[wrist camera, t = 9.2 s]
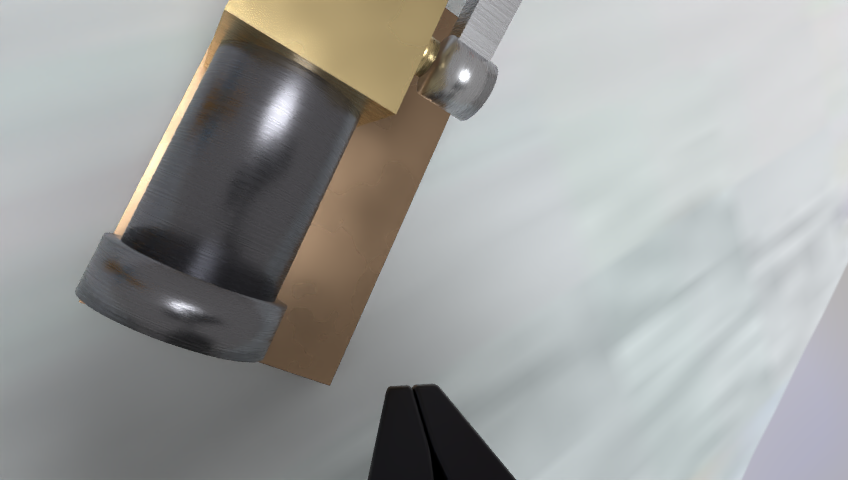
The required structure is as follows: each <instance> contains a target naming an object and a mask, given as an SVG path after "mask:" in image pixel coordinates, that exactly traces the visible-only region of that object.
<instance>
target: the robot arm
mask: <svg viewBox="0 0 848 480" xmlns="http://www.w3.org/2000/svg"><path fill="white" fill-rule="evenodd" d="M368 480H516V479H515V478H514V477H513V475H512V474H511V473H510V472H509V470H508V469H507V468H506V467H505V466H504V464H503V463H502V462H501V461H500V460H499V458H498V457H497V456H496V455H495V454H494V452H493V451H492V450H491V449H490V448H489V446H488V445H487V444H486V443H485V442H484V440H483V439H482V438H481V437H480V436H479V434H478V433H477V432H476V431H475V430H474V428H473V427H472V426H471V425H470V423H469V422H468V421H467V420H466V419H465V417H464V416H463V415H462V414H461V413H460V411H459V410H458V409H457V408H456V407H455V405H454V404H453V403H452V402H451V401H450V399H449V398H448V397H447V396H446V395H445V393H444V392H443V391H442V390H441V389H440V387H439V386H437V385H435V384H421V385H414V386H413V387H412V388H411V387H410V386H408V385H405V386H390V387H388V389H387V391H386V395H385V400H384V405H383V409H382V414H381V419H380V424H379V428H378V433H377V438H376V442H375V447H374V452H373V457H372V461H371V466H370V471H369V476H368Z"/></svg>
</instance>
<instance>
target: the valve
mask: <svg viewBox="0 0 848 480" xmlns="http://www.w3.org/2000/svg"><path fill="white" fill-rule="evenodd" d="M447 2H448V0H229V1H228V3H227V5H226V7H225V9H224V12H223V15H222V17H221V20H220V22H219V25H218V28H217V30H216V33H215V36H214V38H213V40H212V42H211V44H210V46H209V48H208V50H207V52H206V54H205V56H204V58H203V60H202V61H201V63H200V65H199V67H198V69H197V71H196V73H195V75H194V77H193V79H192V81H191V83H190V85H189V87H188V89H187V91H186V93H185V95H184V97H183V99H182V101H181V103H180V105H179V107H178V109H177V110H176V112H175V114H174V116H173V118H172V120H171V122H170V124H169V126H168V128H167V130H166V132H165V134H164V136H163V138H162V140H161V142H160V144H159V146H158V148H157V150H156V152H155V154H154V156H153V157H152V159H151V161H150V163H149V165H148V167H147V169H146V171H145V173H144V175H143V177H142V179H141V181H140V183H139V185H138V187H137V189H136V191H135V193H134V195H133V197H132V199H131V201H130V203H129V205H128V206H127V208H126V210H125V212H124V214H123V216H122V218H121V220H120V222H119V224H118V226H117V228H116V230H115V232H114V234H113V233H104V235H103V237H102V239H101V241H100V243H99V245H98V247H97V249H96V251H95V253H94V255H93V257H92V259H91V261H90V263H89V265H88V267H87V269H86V270H85V272H84V274H83V276H82V278H81V280H80V282H79V284H78V286H77V288H76V290H75V293H76V295H77V296H78V298H79V299H80V301H79V302H80V303H83V304H86V305H88V306H89V307H91V308H92V309H94V310H95V311H97V312H99V313H100V314H102V315H104V316H106V317H108V318H110V319H112V320H114V321H116V322H118V323H120V324H122V325H124V326H126V327H129V328H131V329H133V330H136V331H138V332H140V333H143V334H145V335H148V336H150V337H153V338H156V339H158V340H161V341H164V342H166V343H169V344H172V345H175V346H178V347H181V348H184V349H188V350H191V351H194V352H198V353H202V354H205V355H209V356H213V357H217V358H222V359H227V360H233V361H239V362H260V363H263V364H266V365H269V366H272V367H275V368H278V369H281V370H284V371H287V372H290V373H293V374H296V375H299V376H302V377H305V378H308V379H311V380H314V381H317V382H320V383H323V384H326V385H329V386H330V384H331V382H332V380H333V377H334V375H335V373H336V371H337V368H338V366H339V364H340V362H341V359H342V357H343V355H344V353H345V350H346V348H347V346H348V344H349V341H350V339H351V337H352V335H353V332H354V330H355V328H356V326H357V323H358V321H359V319H360V317H361V314H362V312H363V310H364V308H365V305H366V303H367V301H368V299H369V296H370V294H371V292H372V290H373V287H374V285H375V283H376V281H377V278H378V276H379V274H380V272H381V269H382V267H383V265H384V263H385V260H386V258H387V256H388V254H389V251H390V249H391V247H392V245H393V242H394V240H395V238H396V236H397V233H398V231H399V229H400V227H401V224H402V222H403V220H404V218H405V215H406V213H407V211H408V209H409V206H410V204H411V202H412V200H413V197H414V195H415V193H416V191H417V188H418V186H419V184H420V182H421V179H422V177H423V175H424V173H425V170H426V168H427V166H428V164H429V161H430V159H431V157H432V155H433V152H434V150H435V148H436V146H437V143H438V141H439V139H440V137H441V134H442V132H443V130H444V128H445V125H446V123H447V121H448V119H449V116H450V114H449V113H448V112H446V111H445V110H443V109H441V108H440V107H438V106H437V105H435V104H434V103H432V102H431V101H429V100H427V99H426V98H424V97H423V96H421V95H420V94H418V93H417V82H418V79H419V77H421V76H422V75H423V74H424V73H425V72H426V71H427V70H428V69H429V68H430V66H431V65H432V63H433V62H434V60H435V58H436V56H437V54H438V52H439V49H440V43H441V42H442V41H443V40H444V39H445V38H447V37H448V36H449V34H450V33H451V31H452V29H453V27H454V25H455V23H456V21H457V19H458V17H457V16H456V15H454V14H453V13H451V12H450V11H449V10H447V9H446V8H445V6H446V4H447Z"/></svg>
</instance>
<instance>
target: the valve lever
mask: <svg viewBox="0 0 848 480" xmlns="http://www.w3.org/2000/svg"><path fill="white" fill-rule="evenodd" d="M521 1H522V0H467V2H466V4H465V6H464V8H463V10H462V12H461V13H460V15H459V17H458V19H457V21H456V23H455V25H454V27H453V29H452V31H451V33H450V34H449V36H448V37H447V38H445V39H444V40H443V41H442V42H441V43H440V49H439V52H438V54H437V56H436V58H435V60H434V62H433V63H432V65H431V66H430V68H429V69H428V70H427V71H426V72H425V73H424V74H423V75H422V76H421V77H419V79H418V82H417V93H418V94H420V95H421V96H423V97H424V98H426V99H427V100H429V101H431V102H432V103H434V104H435V105H437V106H438V107H440V108H441V109H443V110H445V111H446V112H448V113H449V114H451V115H452V116H454V117H455V118H457V119H458V120H461V121H464V120H467V119H469V118H470V117H472V116H473V115H474V114H475V113H476V112H477V111H478V110H479V109H480V108H481V107H482V106H483V104H484V103H485V102H486V100H487V99H488V97H489V95H490V94H491V92H492V90H493V88H494V85H495V83H496V80H497V75H498V69H497V66H496V65H495V64H493V63H492V62H491V61H490V60H491V58H492V56H493V54H494V52H495V51H496V49H497V47H498V45H499V43H500V41H501V39H502V37H503V35H504V34H505V32H506V30H507V28H508V26H509V24H510V22H511V20H512V18H513V17H514V15H515V13H516V11H517V9H518V7H519V5H520V3H521Z"/></svg>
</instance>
